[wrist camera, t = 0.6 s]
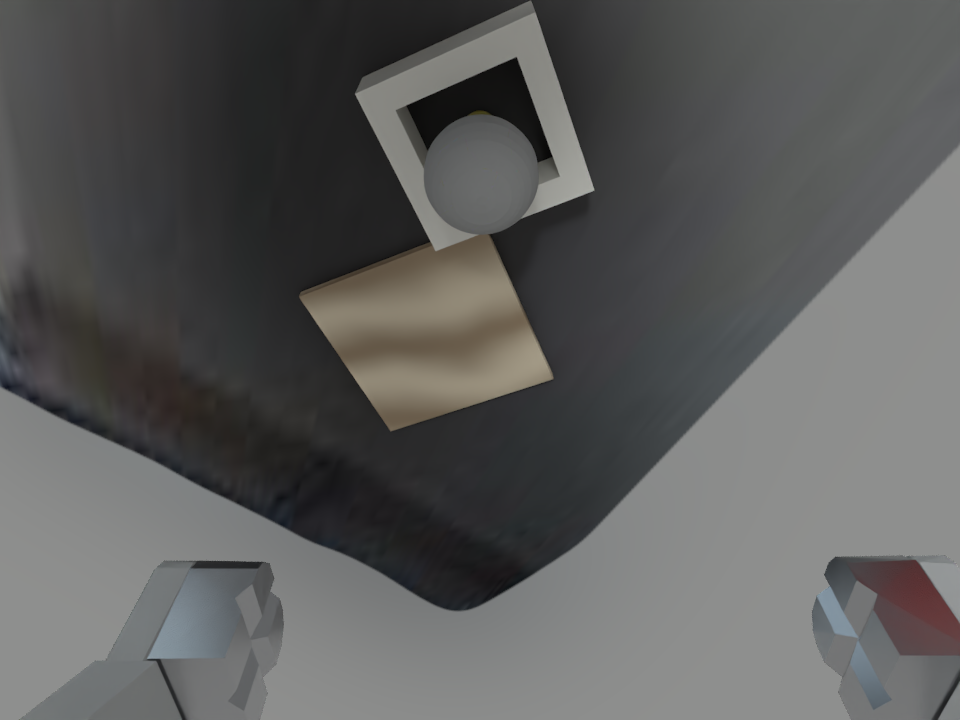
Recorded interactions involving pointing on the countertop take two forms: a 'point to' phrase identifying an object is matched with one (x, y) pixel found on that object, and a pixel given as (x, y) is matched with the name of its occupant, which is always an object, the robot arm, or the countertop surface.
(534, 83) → the socket
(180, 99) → the countertop surface
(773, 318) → the countertop surface
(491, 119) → the light bulb
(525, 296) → the countertop surface
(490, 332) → the board
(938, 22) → the countertop surface
